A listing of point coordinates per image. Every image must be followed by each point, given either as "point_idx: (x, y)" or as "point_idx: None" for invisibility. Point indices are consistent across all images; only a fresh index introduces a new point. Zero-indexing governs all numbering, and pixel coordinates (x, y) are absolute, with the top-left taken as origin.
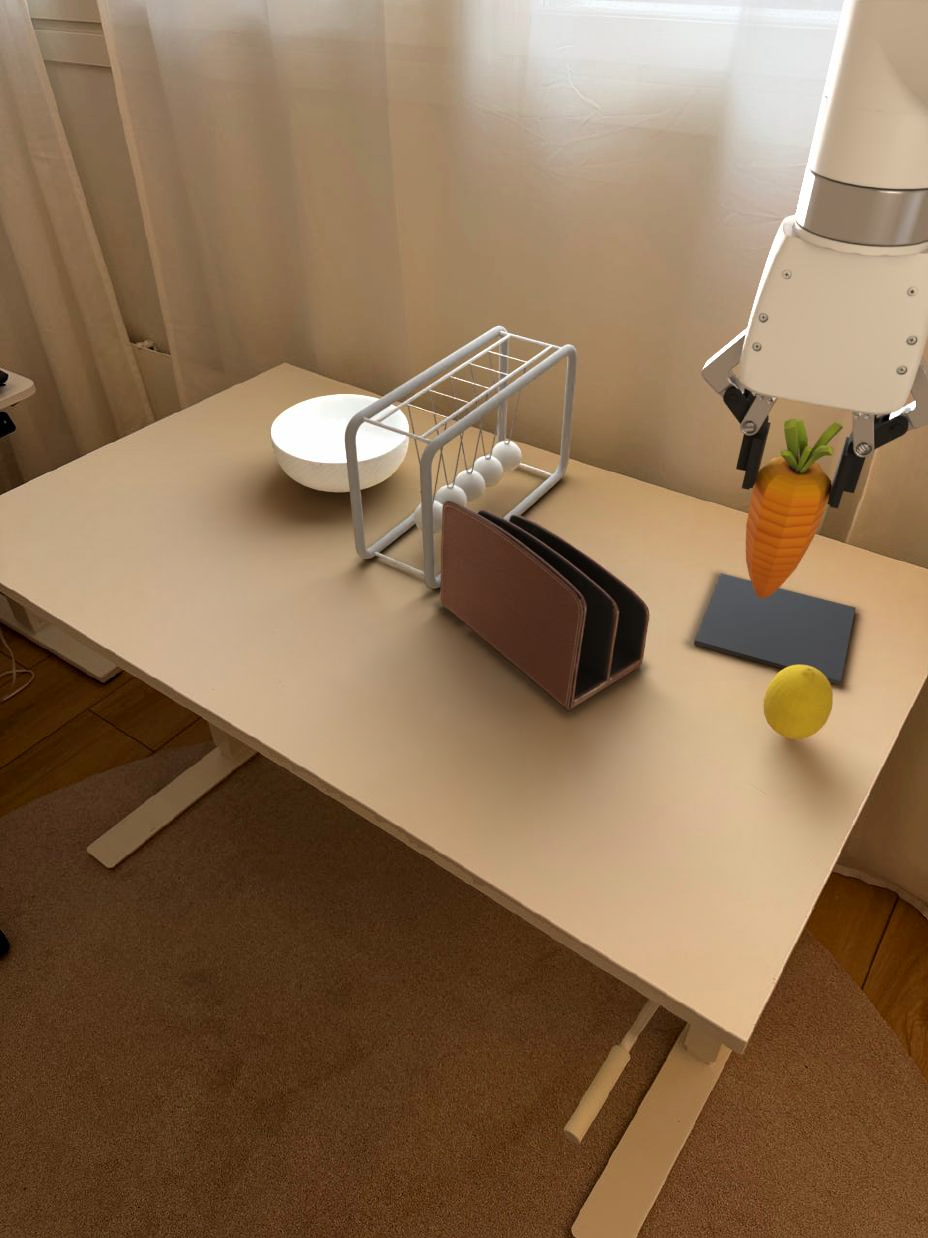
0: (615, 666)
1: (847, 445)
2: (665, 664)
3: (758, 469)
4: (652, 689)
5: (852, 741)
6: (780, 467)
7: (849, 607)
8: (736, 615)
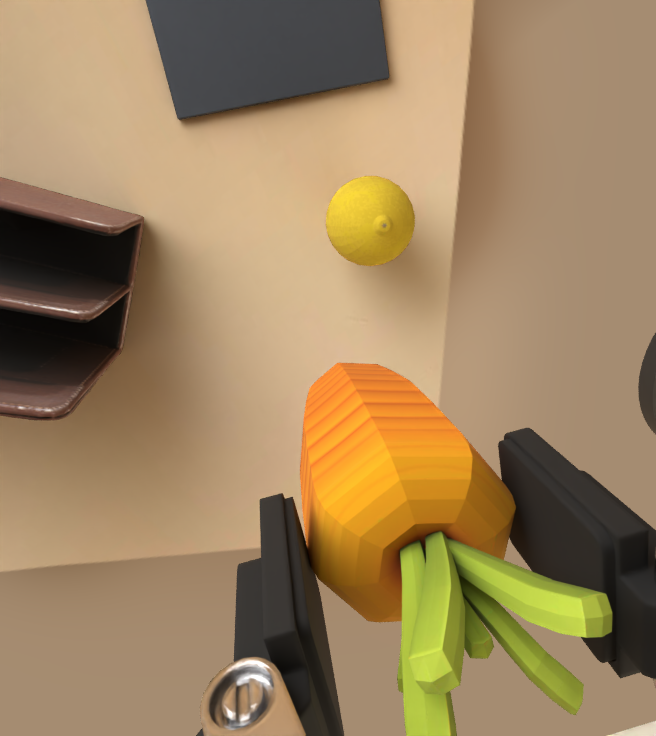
0: (122, 260)
1: (614, 606)
2: (169, 190)
3: (305, 549)
4: (182, 248)
5: (427, 180)
6: (383, 596)
7: None
8: (199, 8)
